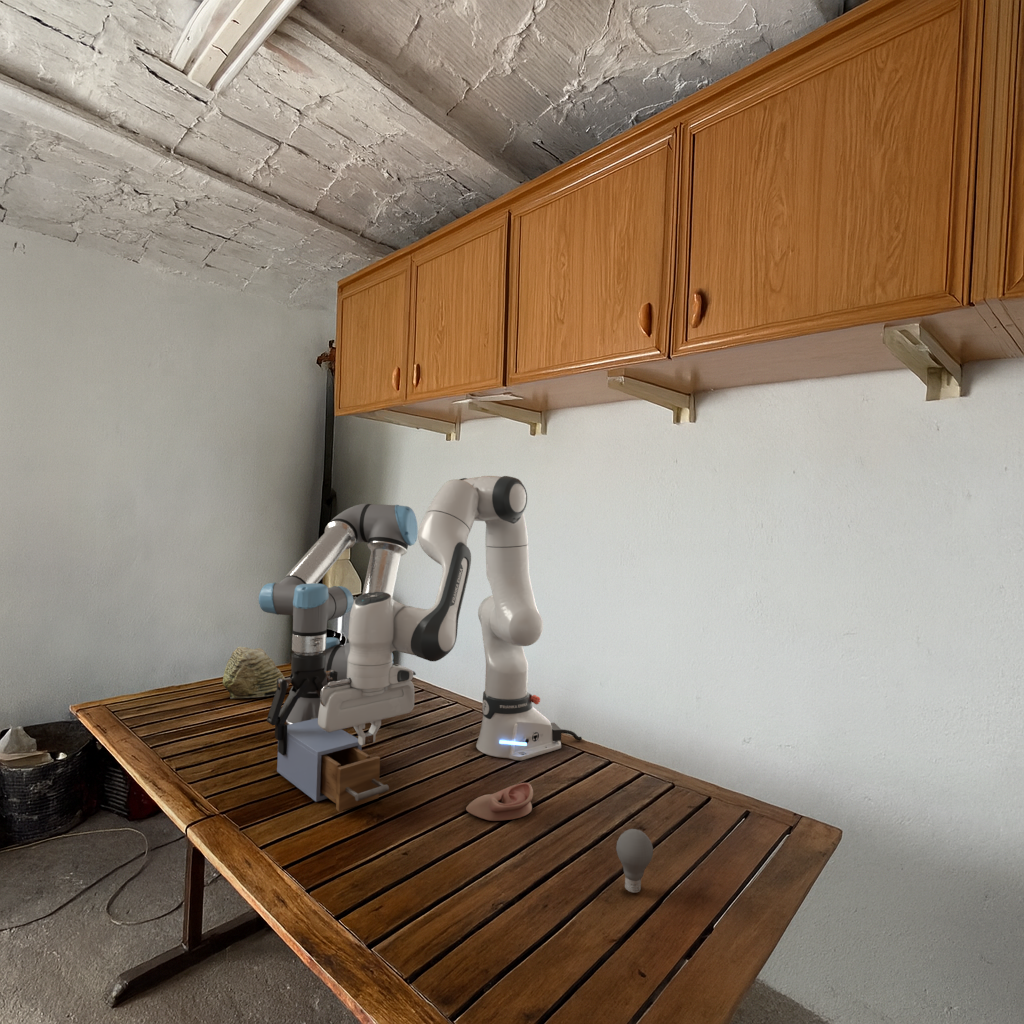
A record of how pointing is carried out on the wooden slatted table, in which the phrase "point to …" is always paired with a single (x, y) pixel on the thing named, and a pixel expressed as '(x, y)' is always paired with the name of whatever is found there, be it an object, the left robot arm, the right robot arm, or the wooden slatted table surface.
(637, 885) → the light bulb
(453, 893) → the wooden slatted table surface
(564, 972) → the wooden slatted table surface
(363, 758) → the drawer
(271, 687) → the fossil
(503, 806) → the anatomical model
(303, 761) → the cabinet
